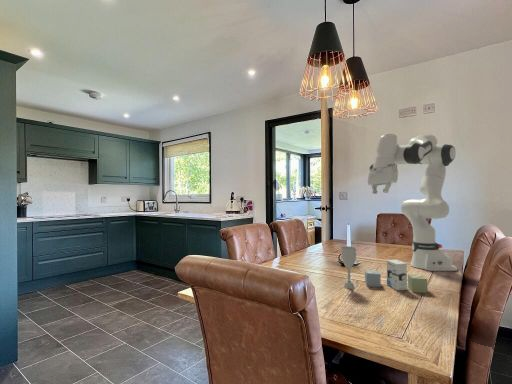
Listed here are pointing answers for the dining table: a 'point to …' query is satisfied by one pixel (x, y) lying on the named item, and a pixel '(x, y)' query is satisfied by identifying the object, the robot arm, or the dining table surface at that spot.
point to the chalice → (348, 263)
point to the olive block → (417, 283)
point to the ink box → (397, 274)
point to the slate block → (372, 278)
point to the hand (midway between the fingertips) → (379, 193)
